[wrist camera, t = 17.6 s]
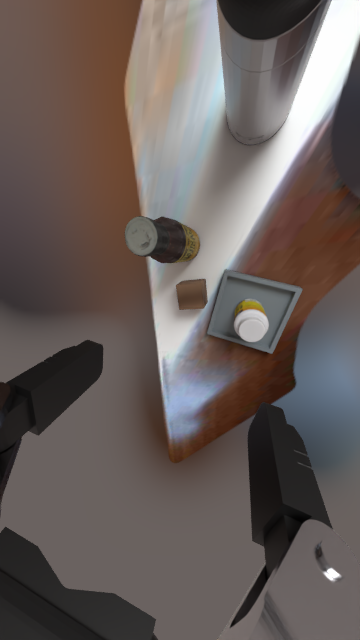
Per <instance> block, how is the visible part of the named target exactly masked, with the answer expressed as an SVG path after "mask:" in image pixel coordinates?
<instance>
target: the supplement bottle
mask: <svg viewBox="0 0 360 640" xmlns="http://www.w3.org/2000/svg"><path fill="white" fill-rule="evenodd" d="M268 327H269V322H268V319H267V316H266V314H265V311H264V309H263V306H262V305H261V303H260V302H258V301H257V300H254V299H245V300H243V301H241V302H240V303H238V305H237V306H236V308H235V316H234V329H235V331H236V333H237V334H238V335H239V336H240V337H241V338H242V339H243V340H245V341H247V342H256V341H259V340H260V339H262V338H263V336H264V335H265V334H266V332H267V330H268Z"/></svg>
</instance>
